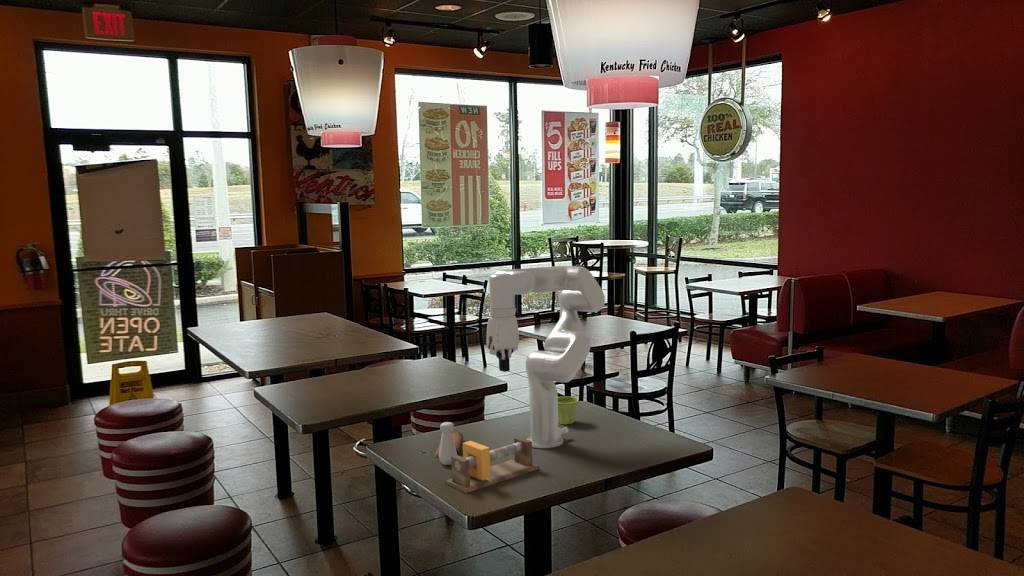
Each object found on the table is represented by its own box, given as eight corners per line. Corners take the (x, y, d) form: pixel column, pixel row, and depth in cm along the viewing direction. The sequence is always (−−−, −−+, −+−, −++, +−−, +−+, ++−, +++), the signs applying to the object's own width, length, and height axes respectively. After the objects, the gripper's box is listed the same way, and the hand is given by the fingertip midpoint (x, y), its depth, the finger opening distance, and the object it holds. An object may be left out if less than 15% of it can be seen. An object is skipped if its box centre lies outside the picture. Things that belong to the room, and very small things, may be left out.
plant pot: (571, 427, 270) (571, 404, 269) (548, 424, 274) (548, 401, 273) (583, 420, 278) (582, 398, 277) (560, 417, 282) (559, 395, 281)
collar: (471, 469, 223) (470, 440, 222) (490, 477, 216) (489, 447, 215) (463, 472, 221) (462, 442, 220) (482, 480, 215) (481, 450, 214)
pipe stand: (517, 460, 236) (517, 434, 235) (539, 468, 228) (538, 441, 227) (445, 483, 218) (444, 455, 217) (466, 493, 210) (465, 464, 209)
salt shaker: (454, 466, 232) (453, 426, 231) (436, 465, 233) (435, 425, 232) (459, 460, 238) (458, 420, 236) (442, 459, 239) (440, 420, 238)
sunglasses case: (438, 440, 258) (447, 424, 258) (456, 450, 259) (465, 434, 258) (433, 458, 240) (443, 440, 240) (452, 468, 241) (462, 451, 240)
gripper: (512, 309, 239) (514, 365, 241) (476, 314, 230) (478, 373, 232) (528, 311, 233) (530, 368, 236) (491, 317, 224) (493, 377, 226)
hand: (504, 370), depth 234 cm, fingers closed
